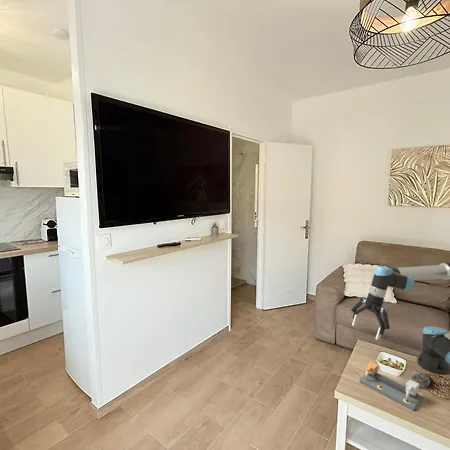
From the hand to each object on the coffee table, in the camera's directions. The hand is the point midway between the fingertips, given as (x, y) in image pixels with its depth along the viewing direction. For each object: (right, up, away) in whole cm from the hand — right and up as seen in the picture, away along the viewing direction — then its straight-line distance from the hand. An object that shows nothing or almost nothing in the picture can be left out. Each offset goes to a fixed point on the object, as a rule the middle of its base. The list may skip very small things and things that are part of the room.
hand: (365, 332), depth 146 cm
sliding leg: (+3, -24, +1) cm, 25 cm away
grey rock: (+29, -27, -1) cm, 40 cm away
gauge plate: (+9, -27, -6) cm, 30 cm away
